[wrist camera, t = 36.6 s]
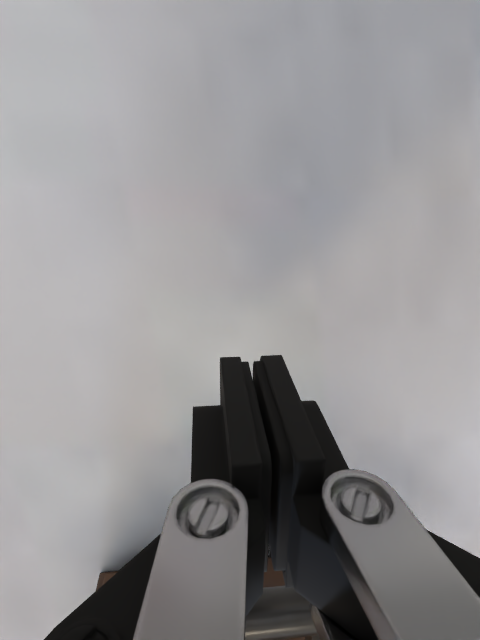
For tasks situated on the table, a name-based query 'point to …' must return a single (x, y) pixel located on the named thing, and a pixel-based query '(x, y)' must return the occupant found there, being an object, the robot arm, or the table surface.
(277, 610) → the drawer
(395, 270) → the table surface
